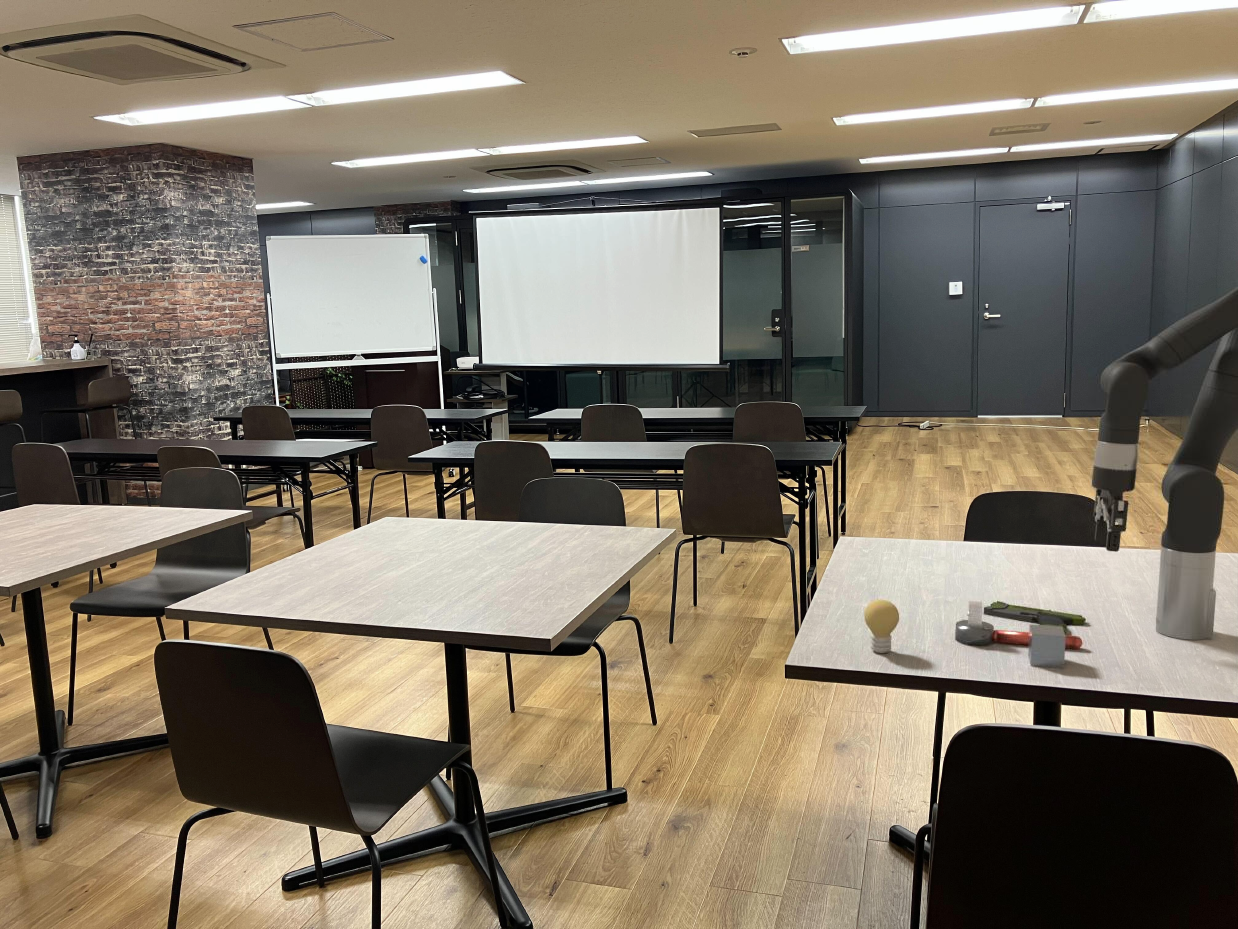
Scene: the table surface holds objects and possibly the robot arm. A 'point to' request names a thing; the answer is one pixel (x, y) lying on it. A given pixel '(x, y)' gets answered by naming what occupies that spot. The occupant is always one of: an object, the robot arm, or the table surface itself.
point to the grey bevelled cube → (1046, 646)
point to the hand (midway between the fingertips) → (1106, 545)
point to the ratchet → (994, 632)
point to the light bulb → (881, 624)
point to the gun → (1033, 615)
